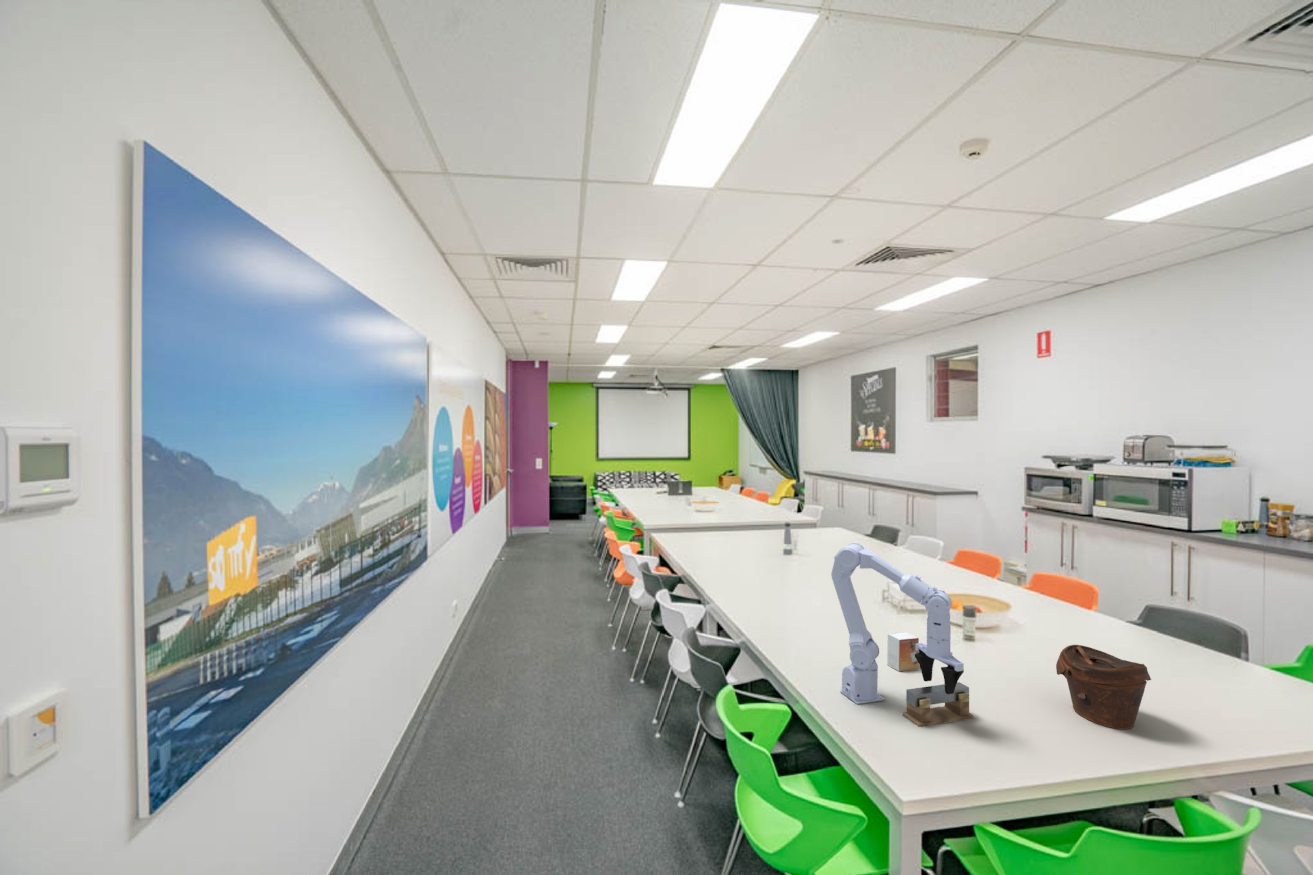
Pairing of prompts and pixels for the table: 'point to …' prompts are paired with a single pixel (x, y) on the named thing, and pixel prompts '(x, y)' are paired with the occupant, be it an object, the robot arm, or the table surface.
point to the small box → (902, 651)
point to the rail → (934, 694)
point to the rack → (938, 712)
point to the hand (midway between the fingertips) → (938, 686)
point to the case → (1103, 685)
